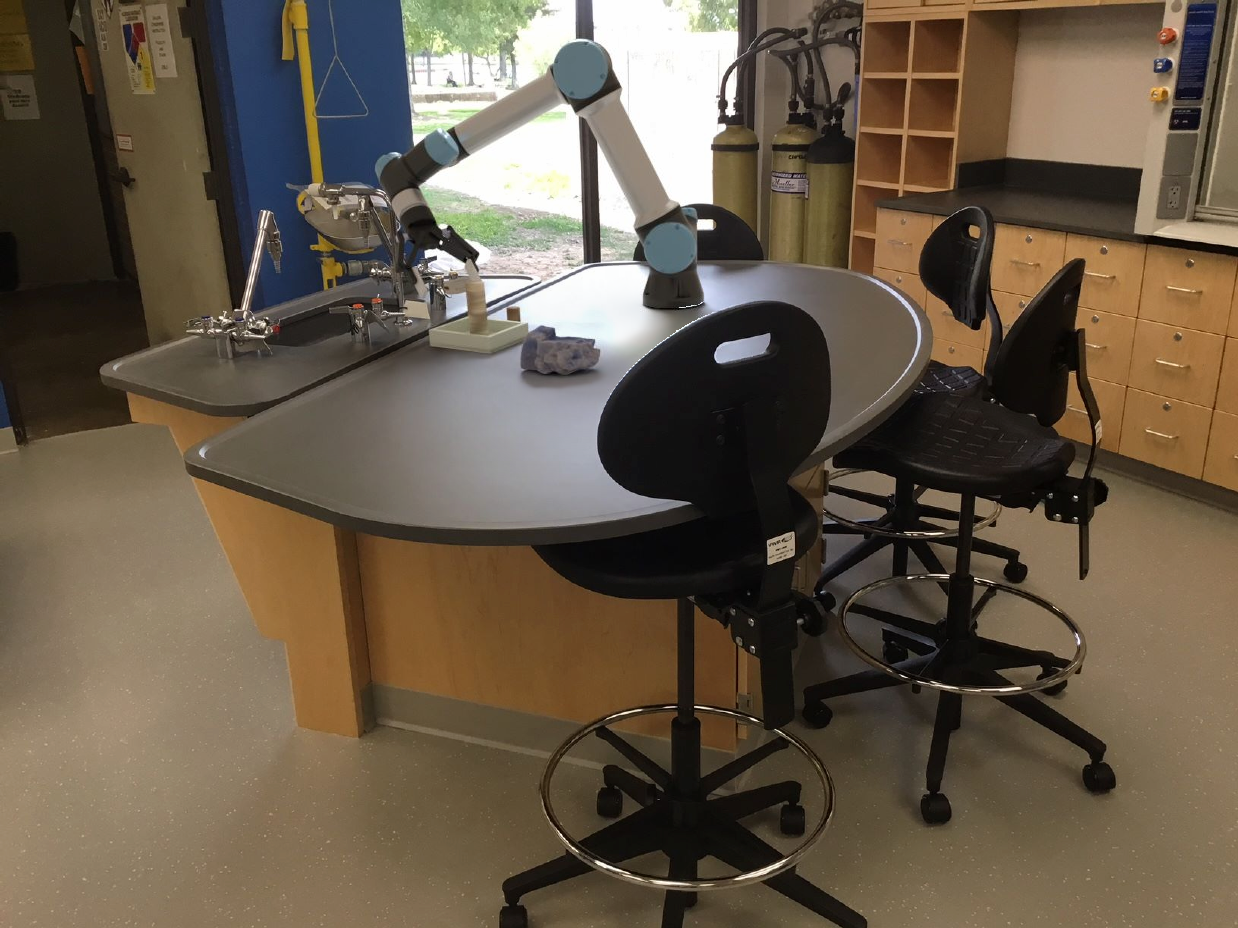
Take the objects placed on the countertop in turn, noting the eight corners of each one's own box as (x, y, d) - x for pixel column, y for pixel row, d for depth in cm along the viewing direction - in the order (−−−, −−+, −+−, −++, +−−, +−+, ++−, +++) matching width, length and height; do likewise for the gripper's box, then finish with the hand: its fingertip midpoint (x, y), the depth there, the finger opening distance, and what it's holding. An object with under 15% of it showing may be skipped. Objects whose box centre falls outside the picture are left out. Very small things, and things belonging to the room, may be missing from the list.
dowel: (492, 337, 219) (487, 281, 215) (481, 341, 216) (476, 285, 211) (477, 335, 221) (472, 280, 216) (466, 339, 218) (461, 284, 213)
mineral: (516, 329, 190) (538, 314, 199) (515, 376, 195) (537, 359, 203) (586, 343, 186) (606, 327, 194) (584, 390, 190) (604, 373, 199)
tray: (529, 338, 220) (528, 322, 219) (490, 353, 209) (489, 337, 208) (470, 331, 228) (469, 316, 227) (430, 345, 217) (428, 329, 215)
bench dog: (523, 328, 229) (522, 307, 227) (516, 331, 226) (514, 309, 224) (512, 327, 230) (511, 305, 228) (505, 330, 228) (503, 308, 226)
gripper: (458, 219, 238) (495, 292, 233) (359, 231, 224) (396, 309, 219) (467, 198, 232) (506, 272, 227) (366, 209, 218) (404, 288, 213)
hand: (452, 290), depth 223 cm, fingers open, 13 cm apart
